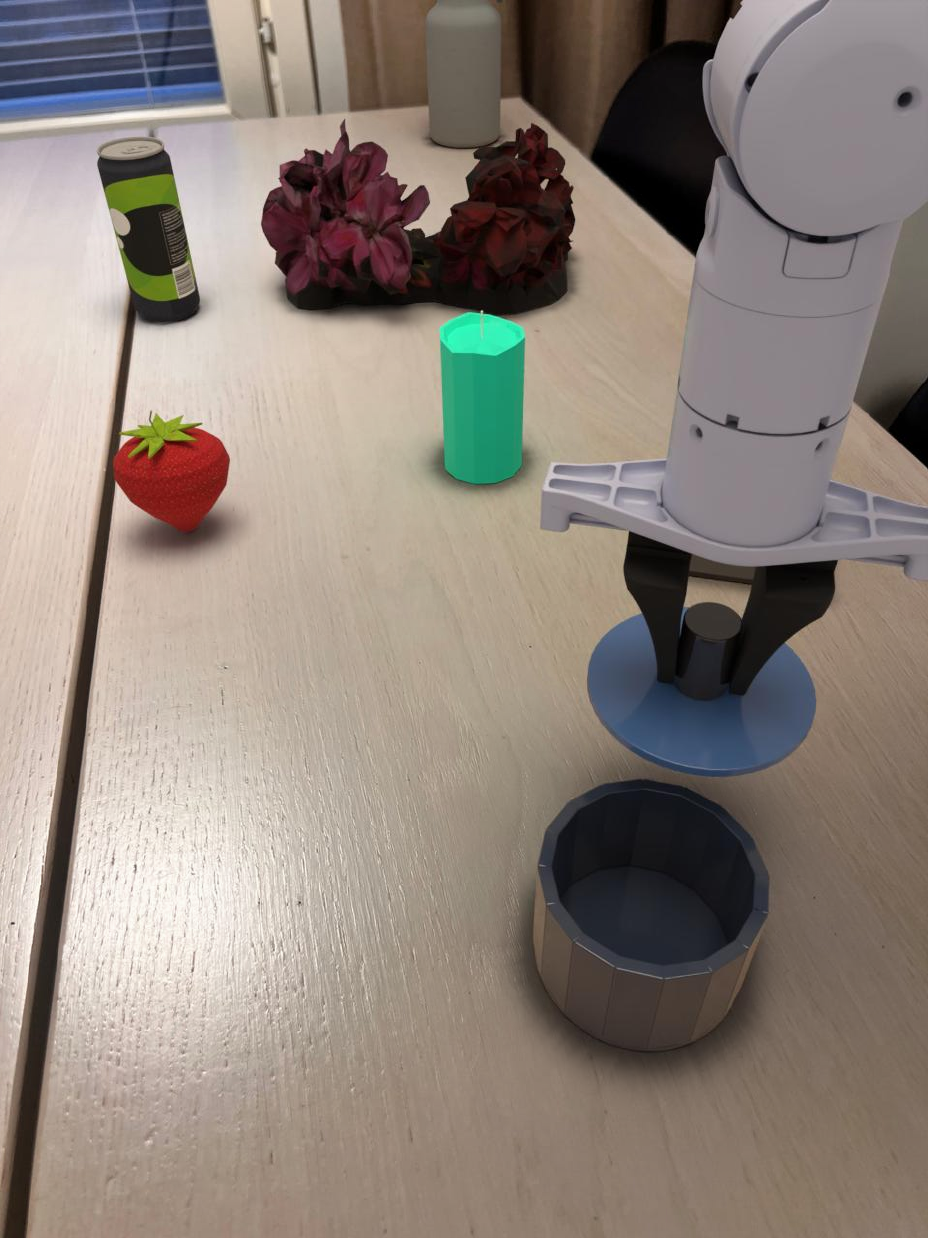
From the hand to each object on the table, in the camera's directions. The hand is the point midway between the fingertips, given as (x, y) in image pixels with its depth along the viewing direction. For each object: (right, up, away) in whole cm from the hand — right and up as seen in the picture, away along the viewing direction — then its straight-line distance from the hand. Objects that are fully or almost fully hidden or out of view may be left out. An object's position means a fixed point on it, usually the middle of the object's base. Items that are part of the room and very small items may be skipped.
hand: (702, 673), depth 41 cm
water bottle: (-10, +69, +91) cm, 114 cm away
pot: (-3, -13, +2) cm, 13 cm away
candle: (-9, +14, +31) cm, 35 cm away
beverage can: (-39, +32, +52) cm, 72 cm away
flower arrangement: (-14, +36, +55) cm, 67 cm away
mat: (+9, +8, +24) cm, 27 cm away
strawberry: (-30, +8, +26) cm, 40 cm away
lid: (0, -1, +1) cm, 1 cm away
